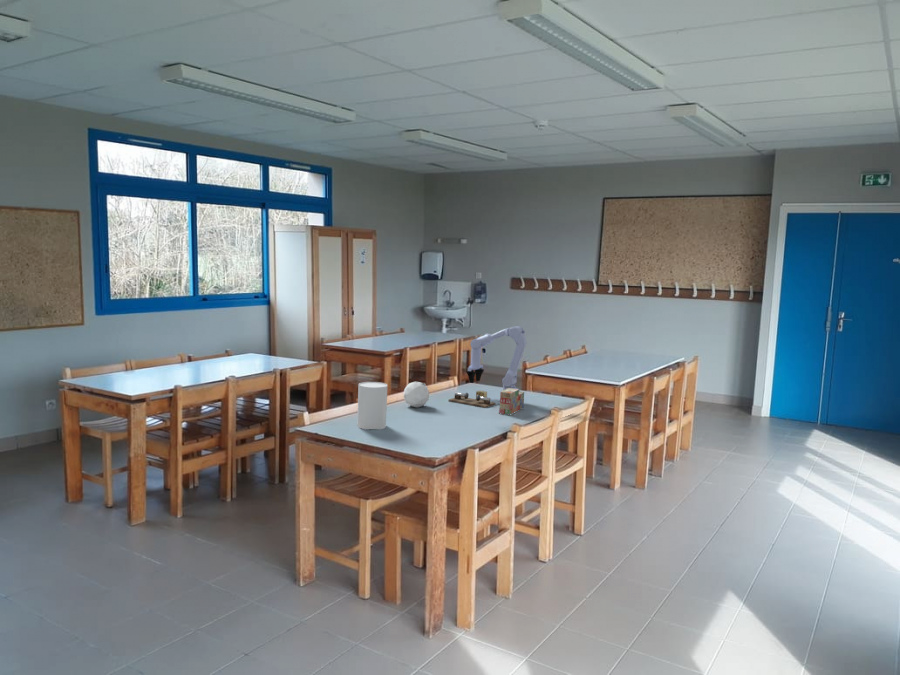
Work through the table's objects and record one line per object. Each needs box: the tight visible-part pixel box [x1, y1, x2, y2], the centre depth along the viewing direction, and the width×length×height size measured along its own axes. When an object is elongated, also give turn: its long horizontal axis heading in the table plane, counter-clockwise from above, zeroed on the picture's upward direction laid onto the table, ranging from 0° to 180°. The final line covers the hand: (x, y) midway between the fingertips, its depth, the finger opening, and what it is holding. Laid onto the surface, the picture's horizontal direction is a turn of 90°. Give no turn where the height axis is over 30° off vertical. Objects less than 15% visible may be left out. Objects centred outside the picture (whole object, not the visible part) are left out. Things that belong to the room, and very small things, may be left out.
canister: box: [356, 381, 388, 430], centre depth 315 cm, size 14×14×20 cm
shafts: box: [454, 391, 491, 402], centre depth 378 cm, size 22×4×4 cm, turn 59°
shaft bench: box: [448, 394, 496, 409], centre depth 378 cm, size 24×12×3 cm, turn 59°
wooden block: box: [475, 390, 488, 398], centre depth 387 cm, size 5×4×5 cm
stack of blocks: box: [498, 388, 525, 416], centre depth 363 cm, size 21×6×12 cm, turn 154°
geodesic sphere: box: [403, 381, 430, 408], centre depth 361 cm, size 15×14×14 cm
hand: (474, 381), depth 393 cm, fingers open, 7 cm apart
